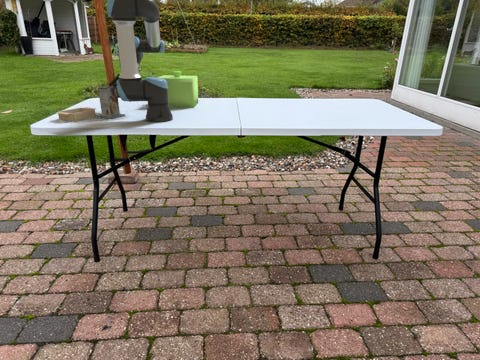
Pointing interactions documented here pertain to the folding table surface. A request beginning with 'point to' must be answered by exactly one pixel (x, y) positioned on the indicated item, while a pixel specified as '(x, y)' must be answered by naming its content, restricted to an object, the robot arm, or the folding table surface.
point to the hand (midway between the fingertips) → (119, 96)
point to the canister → (182, 90)
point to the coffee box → (109, 101)
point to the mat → (111, 117)
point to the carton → (77, 114)
